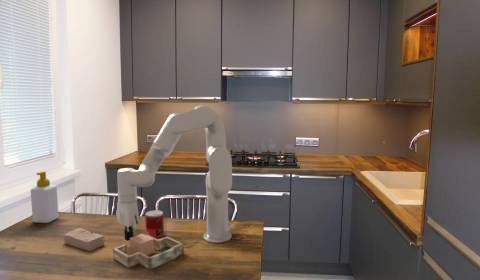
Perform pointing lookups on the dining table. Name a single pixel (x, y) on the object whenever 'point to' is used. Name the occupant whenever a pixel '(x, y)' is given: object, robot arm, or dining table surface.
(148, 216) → the canned food
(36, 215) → the soap bottle
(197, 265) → the dining table surface
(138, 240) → the block
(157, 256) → the channel
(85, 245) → the brick
